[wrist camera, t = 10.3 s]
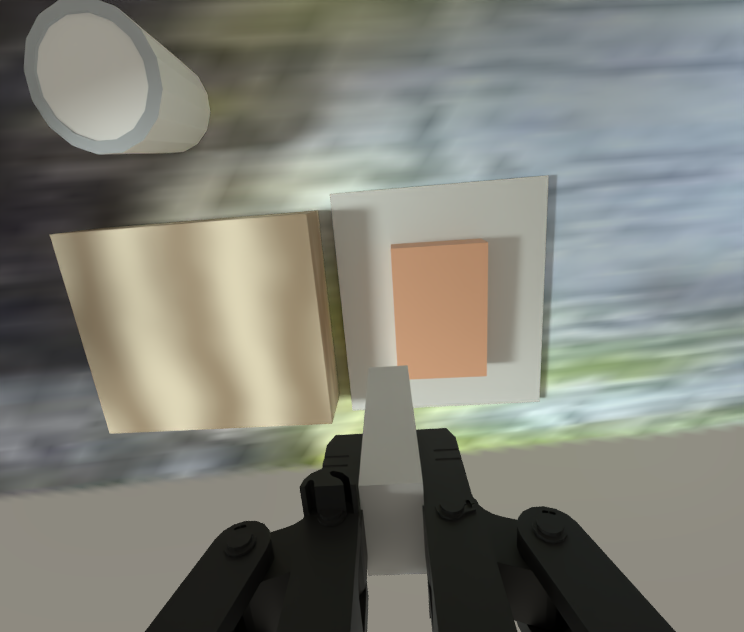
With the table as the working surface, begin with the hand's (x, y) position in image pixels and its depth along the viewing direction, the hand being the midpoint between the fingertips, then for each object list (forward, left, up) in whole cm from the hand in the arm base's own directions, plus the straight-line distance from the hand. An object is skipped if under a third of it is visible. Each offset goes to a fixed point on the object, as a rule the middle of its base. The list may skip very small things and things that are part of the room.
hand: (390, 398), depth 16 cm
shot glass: (-14, +14, -14) cm, 24 cm away
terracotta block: (+3, 0, -11) cm, 12 cm away
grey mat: (+3, 0, -14) cm, 15 cm away
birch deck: (-13, 0, -14) cm, 19 cm away
